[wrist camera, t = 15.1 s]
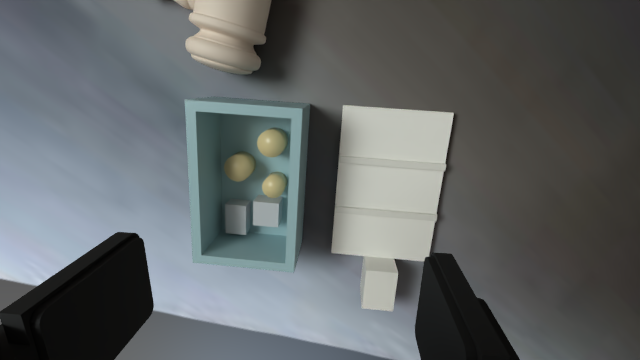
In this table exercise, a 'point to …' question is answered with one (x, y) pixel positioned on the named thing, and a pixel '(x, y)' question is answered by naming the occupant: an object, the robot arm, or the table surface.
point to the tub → (247, 181)
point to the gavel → (227, 33)
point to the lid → (388, 191)
